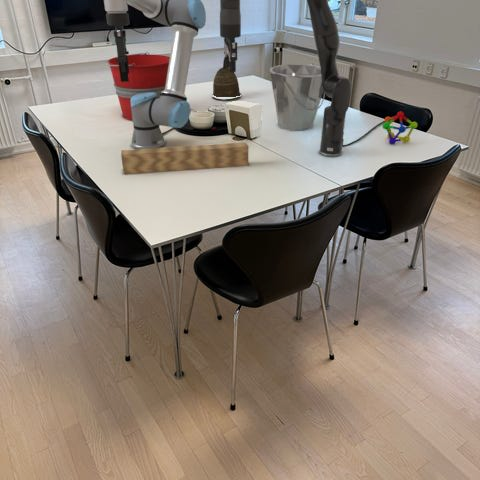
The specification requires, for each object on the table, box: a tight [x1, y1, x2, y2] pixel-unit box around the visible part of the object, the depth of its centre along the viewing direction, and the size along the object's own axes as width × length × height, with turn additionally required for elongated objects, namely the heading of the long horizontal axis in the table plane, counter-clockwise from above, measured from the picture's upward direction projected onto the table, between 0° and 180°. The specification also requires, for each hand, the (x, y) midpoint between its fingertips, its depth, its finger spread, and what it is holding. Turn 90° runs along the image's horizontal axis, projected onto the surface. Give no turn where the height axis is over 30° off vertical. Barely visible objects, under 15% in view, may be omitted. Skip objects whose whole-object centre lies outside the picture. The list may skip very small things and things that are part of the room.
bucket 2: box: [269, 63, 326, 131], centre depth 226 cm, size 30×30×28 cm
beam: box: [120, 142, 249, 175], centre depth 182 cm, size 51×5×8 cm, turn 101°
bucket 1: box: [104, 51, 170, 121], centre depth 240 cm, size 35×35×30 cm
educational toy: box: [382, 110, 418, 145], centre depth 207 cm, size 16×13×15 cm
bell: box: [212, 56, 242, 97], centre depth 278 cm, size 19×26×20 cm
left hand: (125, 77), depth 162 cm, fingers open, 13 cm apart
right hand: (230, 69), depth 167 cm, fingers open, 8 cm apart
